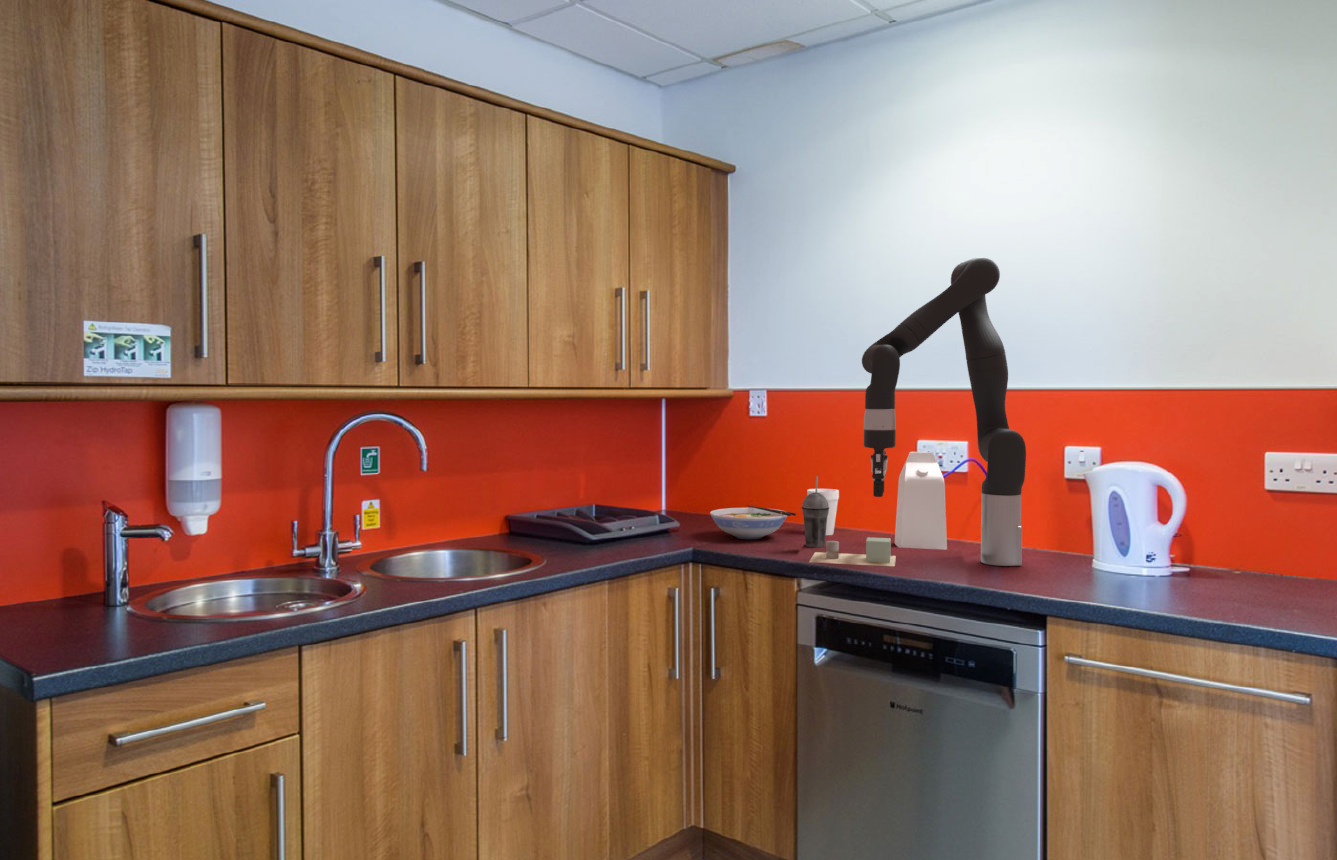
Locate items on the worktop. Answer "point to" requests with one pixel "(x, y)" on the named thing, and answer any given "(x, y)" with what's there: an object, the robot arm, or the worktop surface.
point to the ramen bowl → (749, 521)
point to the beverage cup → (815, 518)
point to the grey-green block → (878, 550)
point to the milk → (921, 504)
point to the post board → (844, 557)
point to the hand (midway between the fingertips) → (878, 494)
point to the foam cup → (832, 500)
